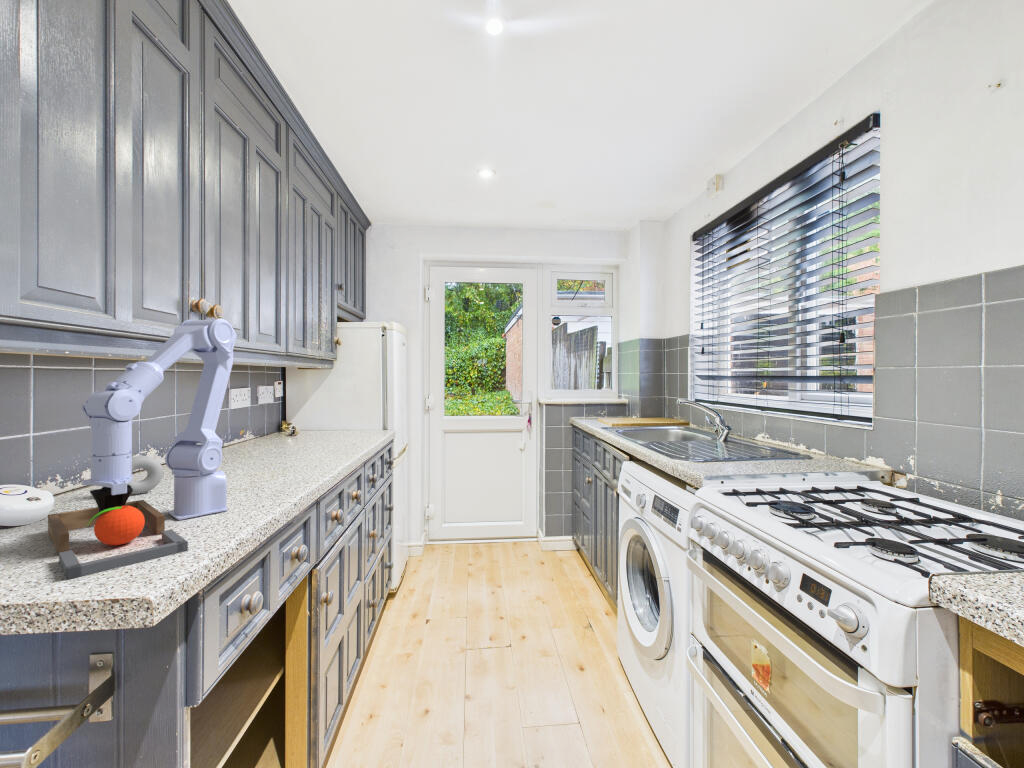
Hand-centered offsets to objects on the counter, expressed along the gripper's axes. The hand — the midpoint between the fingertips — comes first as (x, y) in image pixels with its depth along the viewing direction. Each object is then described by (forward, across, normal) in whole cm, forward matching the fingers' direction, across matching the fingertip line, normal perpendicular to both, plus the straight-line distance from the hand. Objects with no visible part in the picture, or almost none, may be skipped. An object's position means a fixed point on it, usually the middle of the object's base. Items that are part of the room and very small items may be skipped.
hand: (111, 526), depth 82 cm
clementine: (+3, +4, 0) cm, 5 cm away
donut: (+3, -38, +11) cm, 39 cm away
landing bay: (+2, +12, 0) cm, 12 cm away
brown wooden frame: (+2, -4, 0) cm, 5 cm away
